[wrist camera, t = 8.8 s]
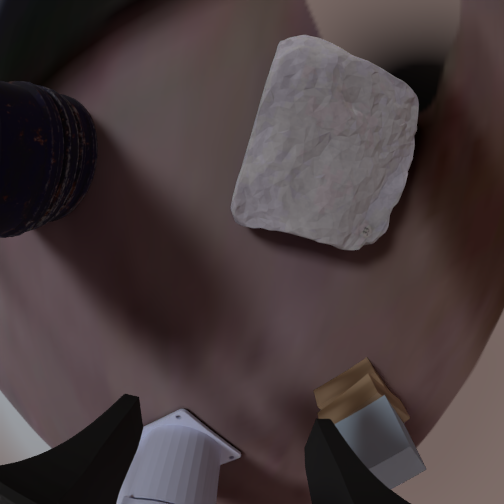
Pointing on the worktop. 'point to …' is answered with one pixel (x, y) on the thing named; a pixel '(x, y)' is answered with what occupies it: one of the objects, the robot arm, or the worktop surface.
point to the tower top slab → (361, 400)
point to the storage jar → (42, 156)
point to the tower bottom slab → (344, 383)
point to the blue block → (382, 443)
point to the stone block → (326, 147)
